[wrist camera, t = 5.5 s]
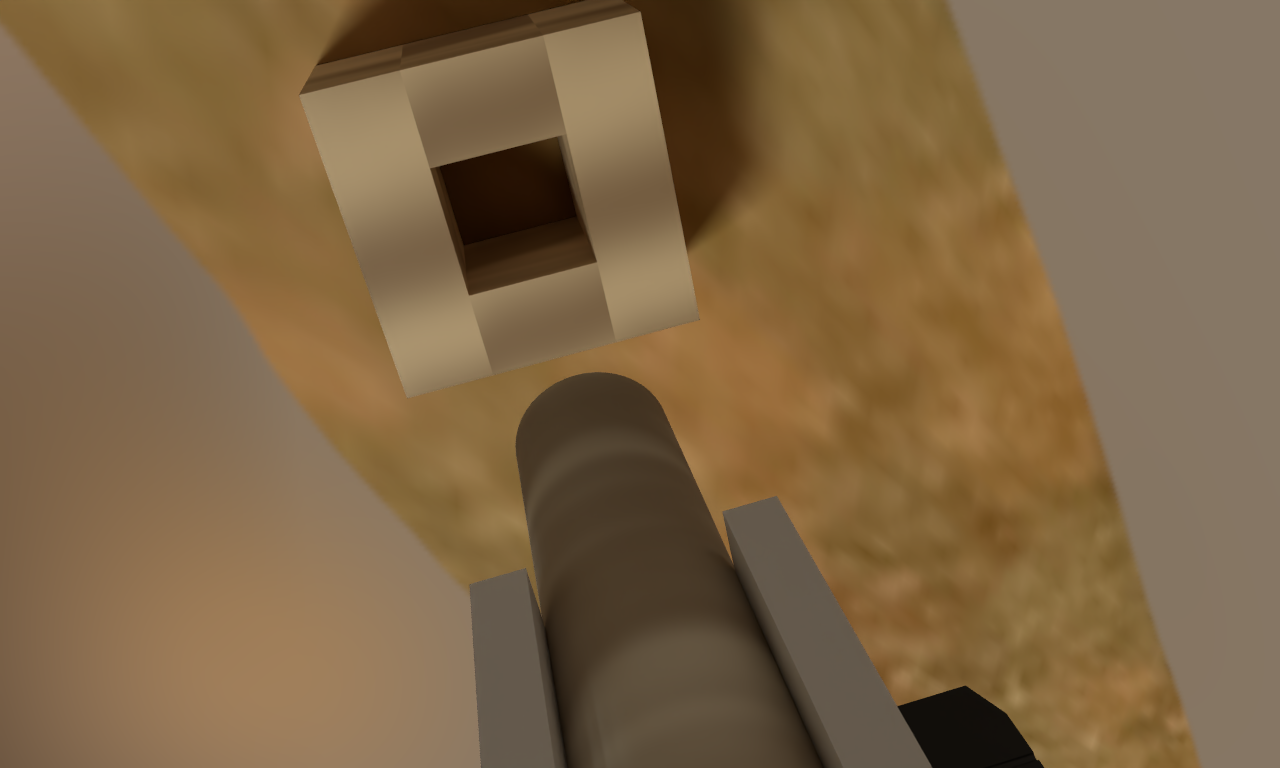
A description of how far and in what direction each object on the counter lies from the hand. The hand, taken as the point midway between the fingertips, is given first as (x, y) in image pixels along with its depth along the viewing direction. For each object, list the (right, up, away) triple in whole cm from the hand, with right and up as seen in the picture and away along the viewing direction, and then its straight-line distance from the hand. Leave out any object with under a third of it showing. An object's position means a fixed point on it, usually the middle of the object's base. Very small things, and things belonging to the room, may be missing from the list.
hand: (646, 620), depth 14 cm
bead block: (-5, +11, +22) cm, 25 cm away
